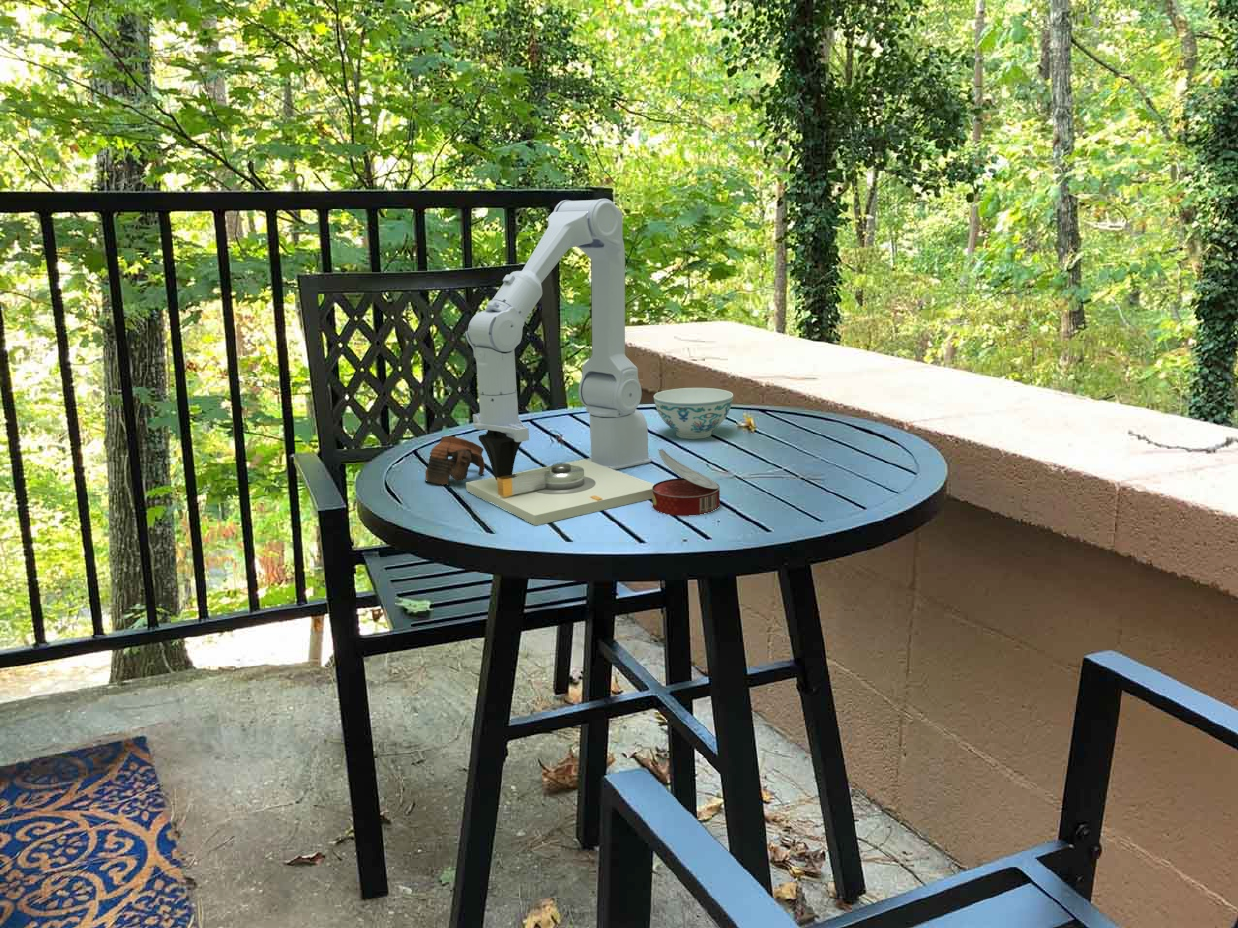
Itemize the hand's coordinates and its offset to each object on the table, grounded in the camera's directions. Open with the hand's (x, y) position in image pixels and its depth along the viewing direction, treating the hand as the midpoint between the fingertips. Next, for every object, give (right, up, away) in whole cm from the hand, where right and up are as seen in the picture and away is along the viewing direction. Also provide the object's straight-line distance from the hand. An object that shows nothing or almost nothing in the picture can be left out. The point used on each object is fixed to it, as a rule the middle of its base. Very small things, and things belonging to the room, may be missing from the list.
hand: (503, 479), depth 151 cm
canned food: (+28, -4, -7) cm, 29 cm away
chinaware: (+32, +8, +37) cm, 49 cm away
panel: (+9, -2, +1) cm, 9 cm away
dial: (+6, -1, -2) cm, 6 cm away
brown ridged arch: (-9, -1, +11) cm, 14 cm away
